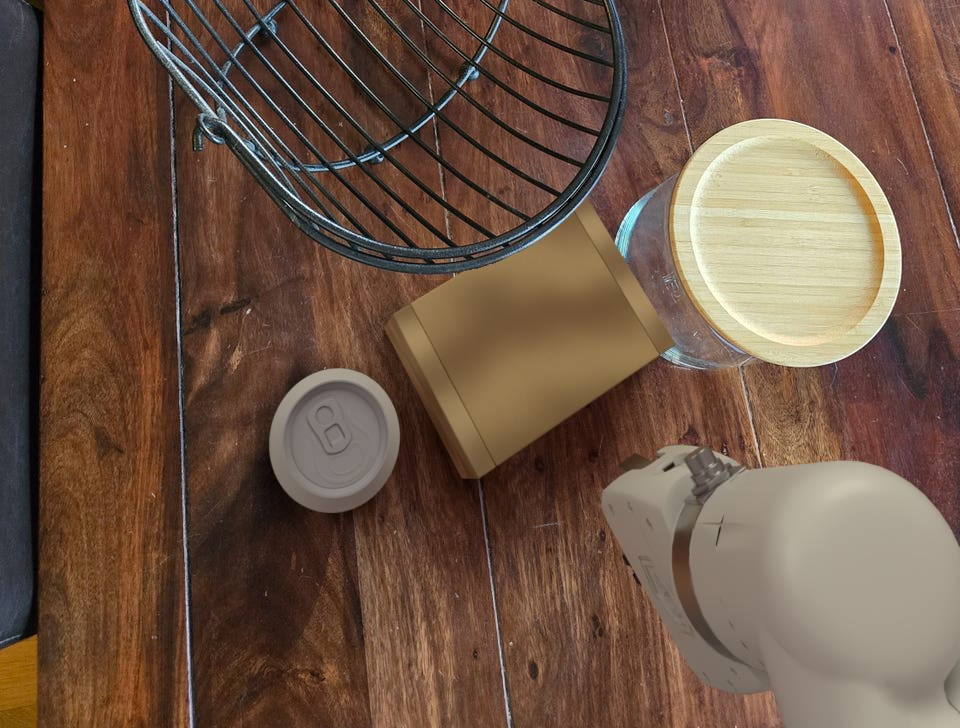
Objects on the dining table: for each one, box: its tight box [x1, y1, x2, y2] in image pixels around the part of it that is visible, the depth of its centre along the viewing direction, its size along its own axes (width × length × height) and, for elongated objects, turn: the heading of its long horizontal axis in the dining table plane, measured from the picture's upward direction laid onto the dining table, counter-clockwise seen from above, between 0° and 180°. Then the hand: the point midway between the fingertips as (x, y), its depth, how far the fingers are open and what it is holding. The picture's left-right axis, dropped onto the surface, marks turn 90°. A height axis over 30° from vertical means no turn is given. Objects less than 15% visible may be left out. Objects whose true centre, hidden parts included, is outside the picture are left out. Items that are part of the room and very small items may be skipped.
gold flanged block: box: [383, 197, 676, 480], centre depth 71 cm, size 10×14×7 cm
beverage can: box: [268, 367, 401, 514], centre depth 65 cm, size 7×7×12 cm
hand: (650, 553), depth 66 cm, fingers closed
